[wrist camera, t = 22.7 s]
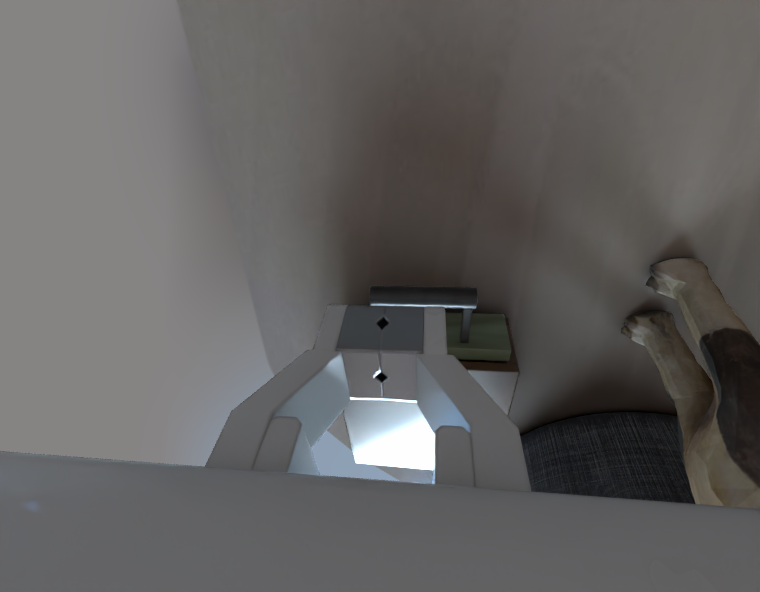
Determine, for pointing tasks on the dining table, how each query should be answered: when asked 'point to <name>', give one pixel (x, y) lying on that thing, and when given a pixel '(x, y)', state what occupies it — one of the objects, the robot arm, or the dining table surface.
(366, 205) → the dining table surface
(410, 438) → the cabinet
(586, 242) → the dining table surface
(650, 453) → the planter
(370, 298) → the drawer
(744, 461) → the figurine
